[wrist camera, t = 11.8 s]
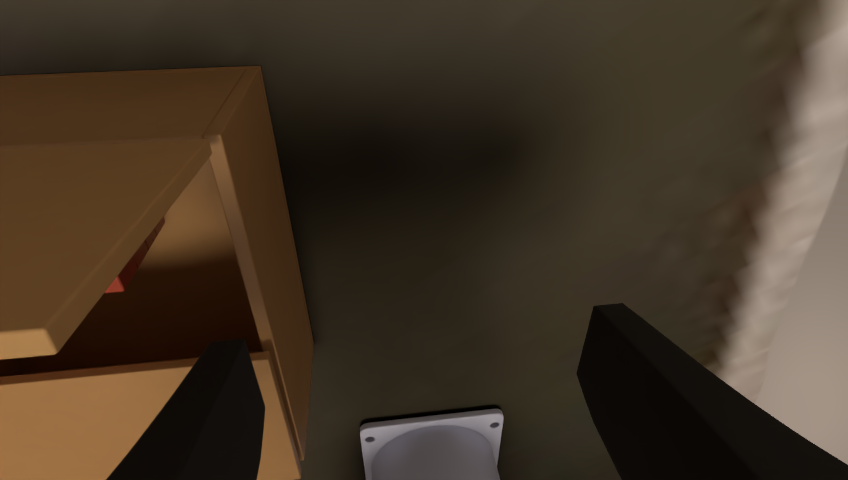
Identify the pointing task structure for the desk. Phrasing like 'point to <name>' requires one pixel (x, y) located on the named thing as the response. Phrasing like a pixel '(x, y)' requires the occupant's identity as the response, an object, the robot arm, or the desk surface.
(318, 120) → the desk surface
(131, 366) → the carton
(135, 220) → the flap
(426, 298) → the desk surface
